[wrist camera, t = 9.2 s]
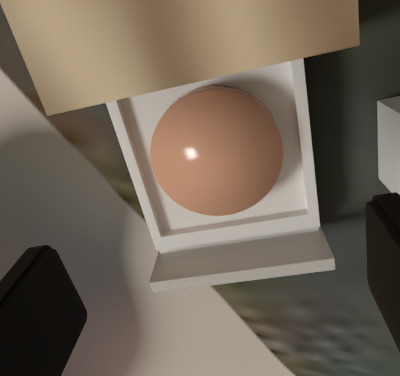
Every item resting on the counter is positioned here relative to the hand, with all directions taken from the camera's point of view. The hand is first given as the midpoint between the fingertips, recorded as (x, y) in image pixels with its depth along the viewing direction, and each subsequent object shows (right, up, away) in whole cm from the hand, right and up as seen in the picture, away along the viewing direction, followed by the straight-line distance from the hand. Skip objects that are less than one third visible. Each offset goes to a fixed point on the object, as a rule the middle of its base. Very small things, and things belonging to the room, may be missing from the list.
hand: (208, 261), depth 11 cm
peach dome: (+1, +5, +10) cm, 11 cm away
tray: (+1, +5, +11) cm, 12 cm away
